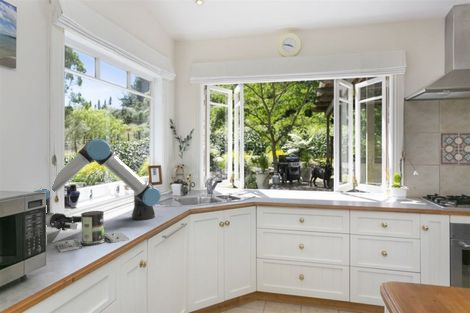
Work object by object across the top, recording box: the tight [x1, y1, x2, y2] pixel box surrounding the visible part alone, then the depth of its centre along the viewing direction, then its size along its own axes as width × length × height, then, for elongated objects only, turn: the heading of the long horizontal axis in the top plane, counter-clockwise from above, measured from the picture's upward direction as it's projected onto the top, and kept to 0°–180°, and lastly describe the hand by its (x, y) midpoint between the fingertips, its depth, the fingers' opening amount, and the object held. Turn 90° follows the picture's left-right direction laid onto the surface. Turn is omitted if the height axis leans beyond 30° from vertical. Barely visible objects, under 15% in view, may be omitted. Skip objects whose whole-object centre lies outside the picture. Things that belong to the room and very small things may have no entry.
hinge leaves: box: [55, 231, 130, 253], centre depth 158 cm, size 31×14×1 cm, turn 127°
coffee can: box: [80, 210, 105, 244], centre depth 158 cm, size 10×10×14 cm
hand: (87, 223), depth 158 cm, fingers open, 13 cm apart
